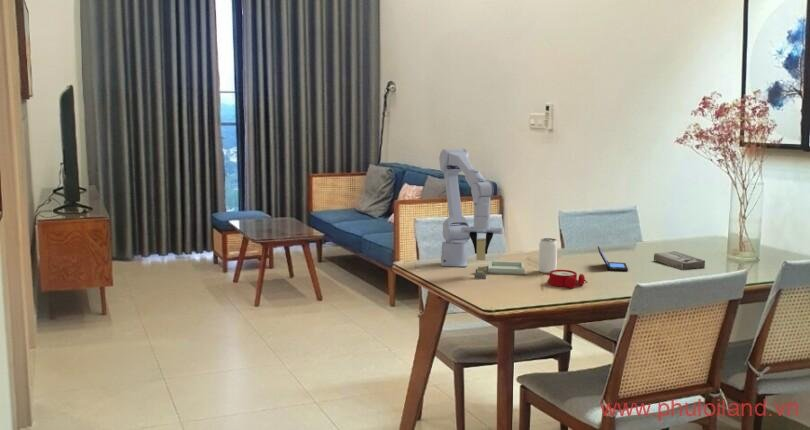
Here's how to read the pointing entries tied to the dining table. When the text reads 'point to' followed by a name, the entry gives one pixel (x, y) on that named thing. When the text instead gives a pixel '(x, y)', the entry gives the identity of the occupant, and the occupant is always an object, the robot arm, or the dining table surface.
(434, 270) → the dining table surface
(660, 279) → the dining table surface
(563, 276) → the alarm clock
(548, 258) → the can
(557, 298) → the dining table surface
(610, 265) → the handheld game console
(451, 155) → the robot arm
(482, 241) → the carton
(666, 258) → the box
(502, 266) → the tray
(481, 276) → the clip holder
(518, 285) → the dining table surface
